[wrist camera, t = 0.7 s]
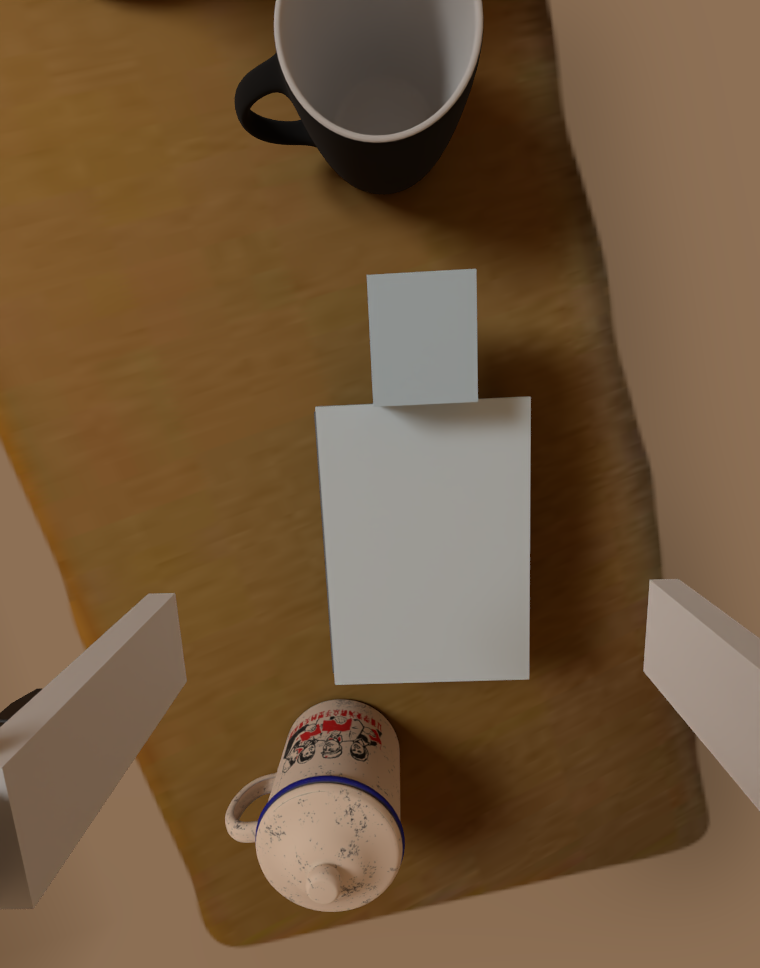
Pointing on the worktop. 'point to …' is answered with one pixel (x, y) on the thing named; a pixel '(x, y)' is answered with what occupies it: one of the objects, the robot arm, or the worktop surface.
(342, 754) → the teacup with lid
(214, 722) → the worktop surface
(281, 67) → the mug
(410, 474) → the lid
